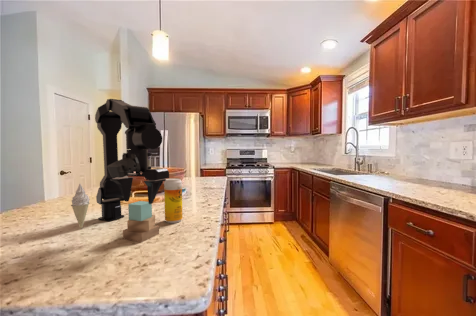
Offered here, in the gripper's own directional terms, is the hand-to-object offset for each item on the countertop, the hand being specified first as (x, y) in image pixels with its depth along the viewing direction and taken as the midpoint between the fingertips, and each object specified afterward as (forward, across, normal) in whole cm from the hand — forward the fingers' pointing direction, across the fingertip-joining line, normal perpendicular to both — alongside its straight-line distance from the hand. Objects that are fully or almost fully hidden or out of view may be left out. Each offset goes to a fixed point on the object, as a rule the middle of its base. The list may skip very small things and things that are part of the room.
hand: (138, 202), depth 70 cm
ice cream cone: (+10, -23, -2) cm, 25 cm away
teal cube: (+5, 0, 0) cm, 5 cm away
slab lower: (+11, 0, 0) cm, 11 cm away
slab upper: (+8, 0, +1) cm, 8 cm away
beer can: (+10, 0, +16) cm, 19 cm away
